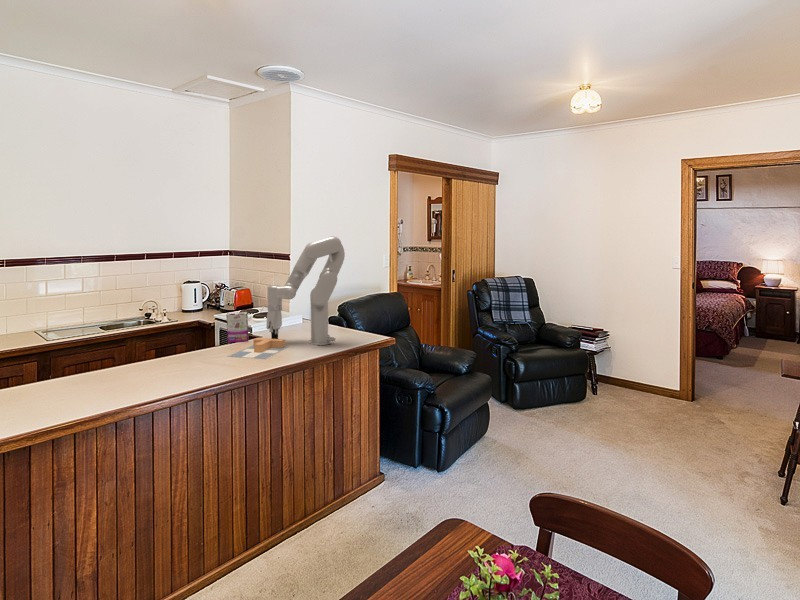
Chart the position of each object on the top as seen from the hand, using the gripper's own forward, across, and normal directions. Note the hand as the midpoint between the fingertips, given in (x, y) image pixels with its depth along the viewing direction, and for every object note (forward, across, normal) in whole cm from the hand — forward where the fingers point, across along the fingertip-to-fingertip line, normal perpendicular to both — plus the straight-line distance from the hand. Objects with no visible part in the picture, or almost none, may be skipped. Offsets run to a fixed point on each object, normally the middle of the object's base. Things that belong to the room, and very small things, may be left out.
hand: (274, 341), depth 283 cm
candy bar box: (+3, -1, -22) cm, 23 cm away
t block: (+2, +13, +1) cm, 13 cm away
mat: (+2, +18, 0) cm, 18 cm away
